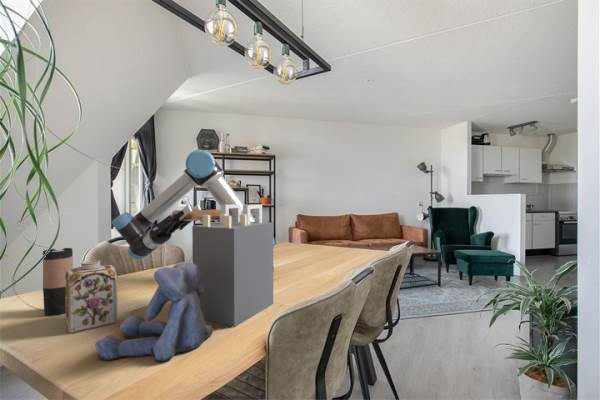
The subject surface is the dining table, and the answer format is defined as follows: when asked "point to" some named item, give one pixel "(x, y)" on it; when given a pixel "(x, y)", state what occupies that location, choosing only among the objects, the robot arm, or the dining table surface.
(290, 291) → the dining table surface
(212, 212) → the copper tube
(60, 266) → the travel mug
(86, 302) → the decorative jar
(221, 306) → the grey pedestal with pegs
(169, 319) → the elephant
